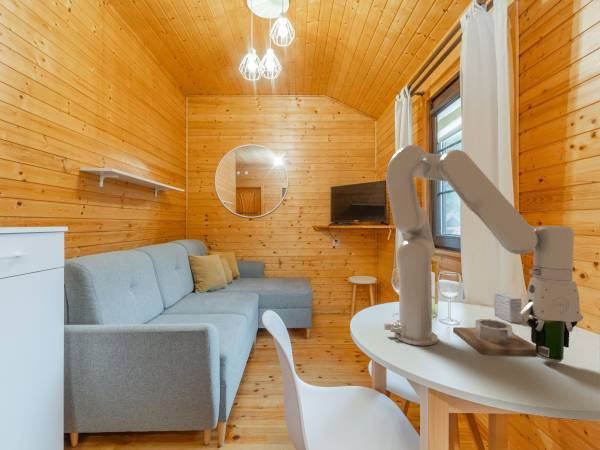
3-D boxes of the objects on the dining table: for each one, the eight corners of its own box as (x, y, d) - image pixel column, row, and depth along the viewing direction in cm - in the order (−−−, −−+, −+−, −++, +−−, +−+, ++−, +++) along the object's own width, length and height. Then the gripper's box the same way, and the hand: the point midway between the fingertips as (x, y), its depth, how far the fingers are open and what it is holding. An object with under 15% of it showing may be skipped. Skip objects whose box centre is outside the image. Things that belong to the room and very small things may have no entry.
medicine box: (522, 322, 102) (522, 298, 102) (510, 323, 102) (510, 299, 102) (505, 315, 110) (505, 293, 110) (494, 315, 110) (494, 293, 110)
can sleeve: (486, 343, 82) (486, 329, 82) (469, 331, 91) (469, 319, 91) (519, 343, 81) (519, 330, 81) (499, 331, 90) (499, 319, 90)
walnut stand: (481, 354, 78) (481, 348, 78) (453, 331, 94) (453, 327, 94) (542, 355, 78) (542, 349, 77) (503, 332, 93) (503, 327, 93)
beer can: (559, 365, 69) (561, 316, 69) (532, 355, 74) (533, 310, 73) (566, 359, 72) (568, 312, 72) (539, 350, 77) (541, 306, 76)
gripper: (528, 276, 69) (525, 350, 70) (602, 278, 68) (599, 352, 69) (507, 270, 77) (505, 337, 77) (573, 272, 76) (571, 339, 76)
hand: (549, 343), depth 73 cm, fingers closed on beer can, 5 cm apart
